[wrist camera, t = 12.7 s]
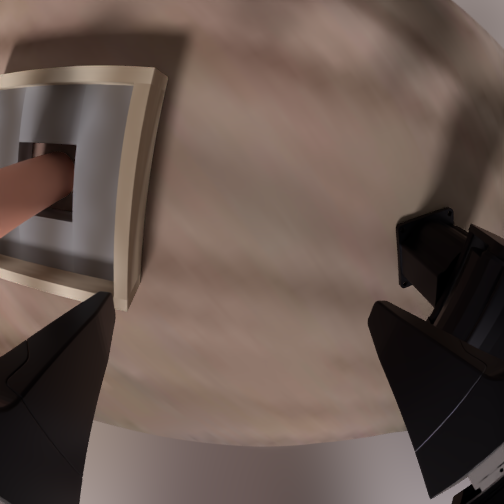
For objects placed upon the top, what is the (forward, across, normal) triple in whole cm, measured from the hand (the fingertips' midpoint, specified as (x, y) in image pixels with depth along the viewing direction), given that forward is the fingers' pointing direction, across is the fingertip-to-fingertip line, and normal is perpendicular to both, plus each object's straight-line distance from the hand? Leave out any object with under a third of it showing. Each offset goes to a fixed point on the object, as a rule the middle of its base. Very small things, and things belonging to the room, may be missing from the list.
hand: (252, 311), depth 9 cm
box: (+14, +14, -1) cm, 19 cm away
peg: (+14, +14, -1) cm, 19 cm away
